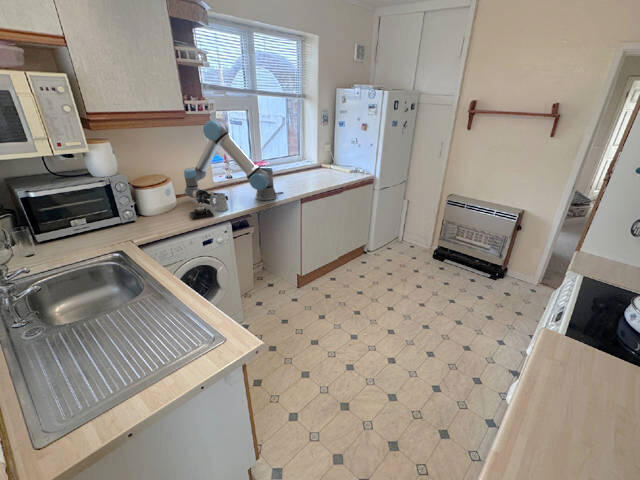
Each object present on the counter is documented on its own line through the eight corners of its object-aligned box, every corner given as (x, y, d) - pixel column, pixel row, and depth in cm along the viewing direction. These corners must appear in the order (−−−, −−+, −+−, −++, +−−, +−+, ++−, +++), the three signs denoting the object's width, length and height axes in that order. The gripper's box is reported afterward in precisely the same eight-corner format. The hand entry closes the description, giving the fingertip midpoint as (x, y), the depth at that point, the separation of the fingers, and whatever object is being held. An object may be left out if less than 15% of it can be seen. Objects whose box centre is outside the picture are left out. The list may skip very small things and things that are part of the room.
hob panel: (209, 212, 210) (208, 206, 208) (213, 216, 202) (212, 210, 201) (190, 215, 204) (189, 209, 202) (193, 220, 196) (192, 213, 195)
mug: (224, 211, 211) (222, 194, 206) (208, 210, 213) (205, 193, 208) (230, 208, 218) (228, 191, 213) (214, 207, 220) (211, 190, 215)
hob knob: (203, 209, 204) (203, 206, 204) (205, 211, 201) (204, 208, 200) (196, 210, 202) (195, 207, 201) (197, 212, 199) (197, 209, 198)
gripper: (217, 196, 235) (235, 201, 223) (184, 203, 217) (202, 210, 205) (215, 186, 231) (233, 191, 220) (182, 192, 214) (200, 198, 202)
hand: (218, 200), depth 212 cm, fingers open, 13 cm apart
